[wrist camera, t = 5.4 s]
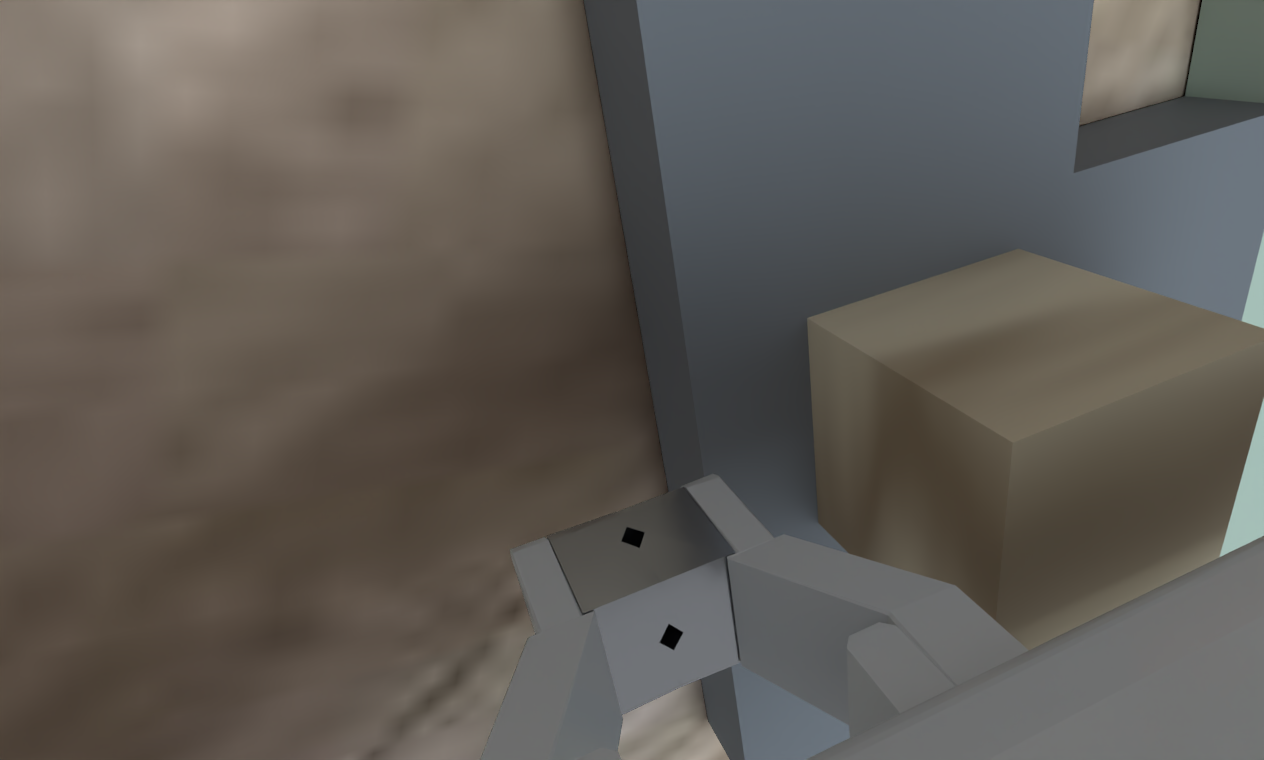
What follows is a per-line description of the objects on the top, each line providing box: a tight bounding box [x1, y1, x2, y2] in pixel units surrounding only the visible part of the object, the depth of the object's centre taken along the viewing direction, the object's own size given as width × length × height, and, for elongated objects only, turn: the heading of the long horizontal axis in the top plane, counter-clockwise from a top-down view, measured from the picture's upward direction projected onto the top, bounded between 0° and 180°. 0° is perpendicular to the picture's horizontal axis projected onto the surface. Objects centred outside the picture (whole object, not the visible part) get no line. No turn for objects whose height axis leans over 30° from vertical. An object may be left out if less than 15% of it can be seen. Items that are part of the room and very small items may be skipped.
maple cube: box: [807, 249, 1264, 650], centre depth 11 cm, size 4×4×4 cm
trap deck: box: [584, 0, 1264, 760], centre depth 14 cm, size 17×18×4 cm
